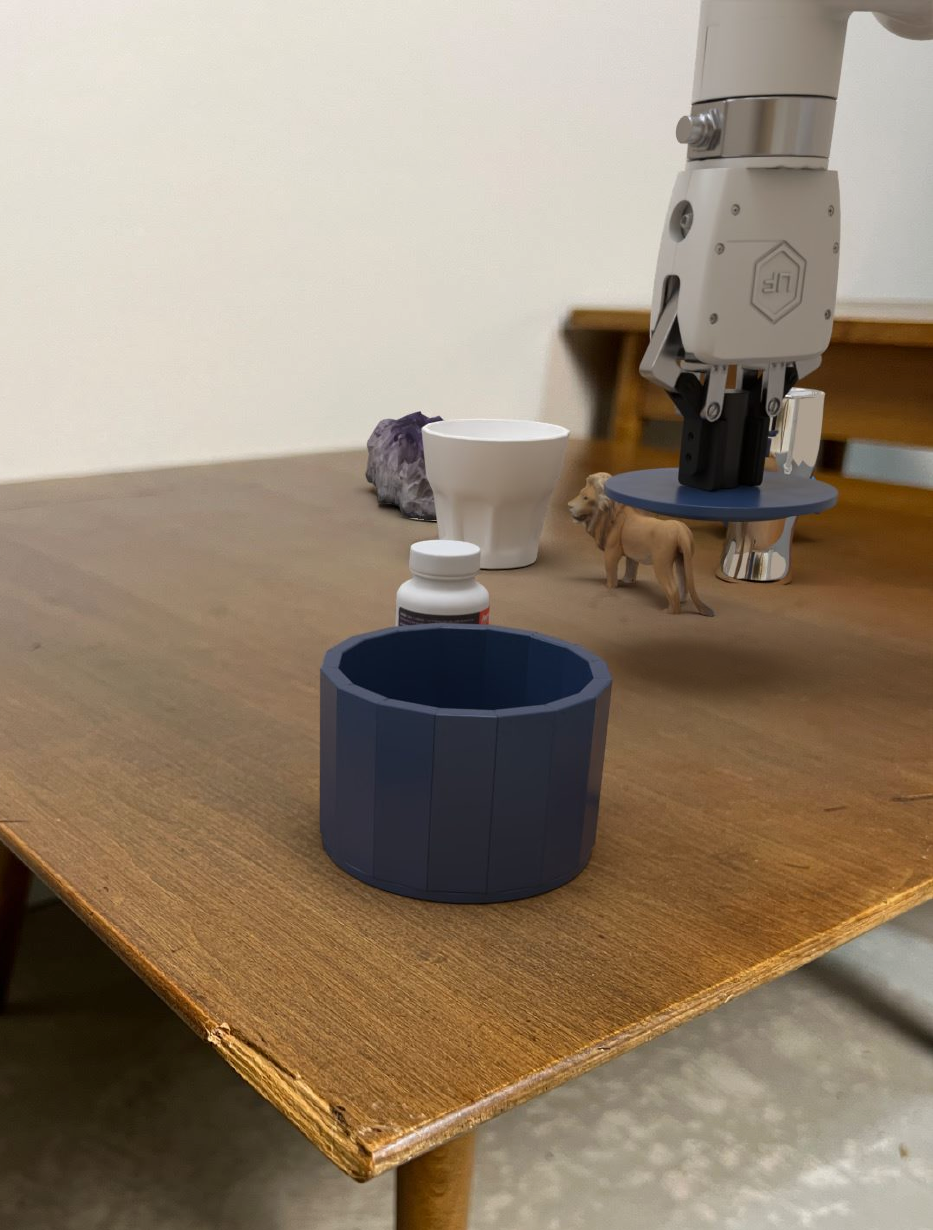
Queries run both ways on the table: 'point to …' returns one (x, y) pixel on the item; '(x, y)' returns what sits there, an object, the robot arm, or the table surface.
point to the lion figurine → (638, 542)
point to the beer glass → (790, 450)
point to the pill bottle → (443, 585)
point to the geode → (401, 465)
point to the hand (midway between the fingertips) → (719, 482)
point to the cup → (494, 483)
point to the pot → (461, 760)
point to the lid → (724, 484)
